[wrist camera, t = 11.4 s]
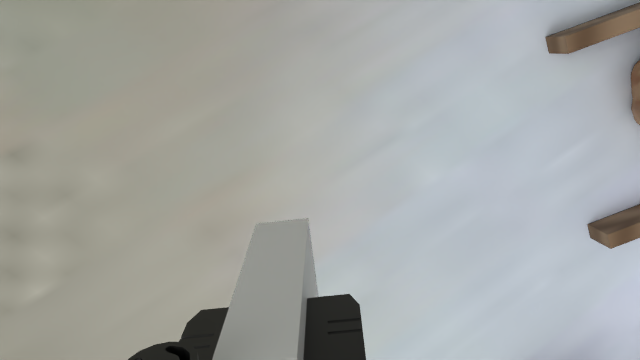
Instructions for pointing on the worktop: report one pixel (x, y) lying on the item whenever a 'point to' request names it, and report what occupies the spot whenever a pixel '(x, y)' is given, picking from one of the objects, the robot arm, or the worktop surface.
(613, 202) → the worktop surface
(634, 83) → the cupcake
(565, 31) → the wooden flag stand
